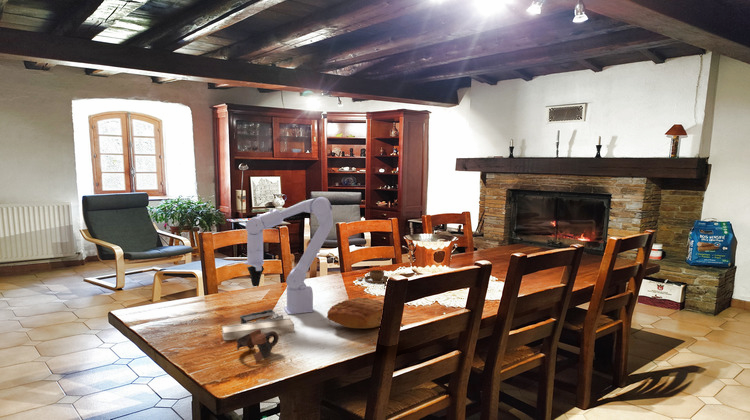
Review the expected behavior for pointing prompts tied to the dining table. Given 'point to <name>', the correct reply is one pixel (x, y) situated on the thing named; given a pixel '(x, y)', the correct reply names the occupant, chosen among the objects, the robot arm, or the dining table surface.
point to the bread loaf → (357, 313)
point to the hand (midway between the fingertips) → (255, 285)
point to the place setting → (376, 277)
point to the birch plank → (265, 327)
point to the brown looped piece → (259, 343)
